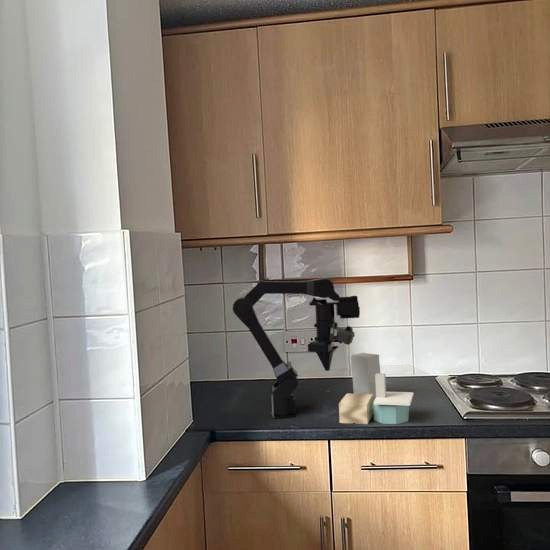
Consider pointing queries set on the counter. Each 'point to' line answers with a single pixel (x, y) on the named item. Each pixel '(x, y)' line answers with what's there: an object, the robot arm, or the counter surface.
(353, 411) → the block
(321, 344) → the robot arm
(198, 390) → the counter surface
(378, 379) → the lid
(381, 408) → the bowl
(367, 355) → the skincare box
